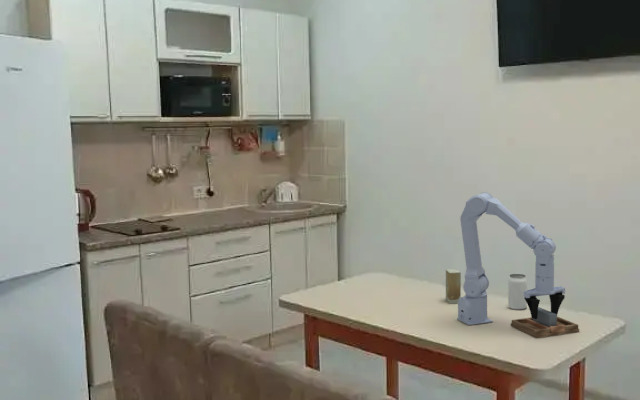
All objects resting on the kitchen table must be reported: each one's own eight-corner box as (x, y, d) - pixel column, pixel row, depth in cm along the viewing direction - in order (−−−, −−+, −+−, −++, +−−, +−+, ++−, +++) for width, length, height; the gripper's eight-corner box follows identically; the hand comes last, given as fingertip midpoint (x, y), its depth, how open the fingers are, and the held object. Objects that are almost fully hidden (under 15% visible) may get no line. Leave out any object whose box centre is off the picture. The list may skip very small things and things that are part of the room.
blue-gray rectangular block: (550, 330, 210) (550, 315, 210) (532, 322, 219) (532, 308, 218) (556, 329, 211) (556, 314, 210) (539, 321, 219) (539, 307, 219)
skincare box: (445, 299, 255) (444, 268, 253) (456, 299, 255) (455, 268, 254) (449, 304, 248) (449, 272, 247) (461, 303, 249) (460, 271, 247)
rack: (536, 338, 206) (536, 329, 205) (510, 326, 219) (510, 317, 219) (579, 331, 211) (579, 323, 210) (551, 320, 224) (551, 312, 224)
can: (527, 310, 237) (527, 277, 235) (509, 309, 238) (509, 277, 237) (525, 305, 243) (525, 273, 242) (507, 305, 244) (507, 273, 243)
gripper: (533, 280, 207) (532, 322, 208) (571, 276, 211) (571, 317, 213) (519, 276, 214) (519, 316, 215) (557, 272, 218) (556, 311, 219)
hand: (544, 316), depth 214 cm, fingers open, 7 cm apart
